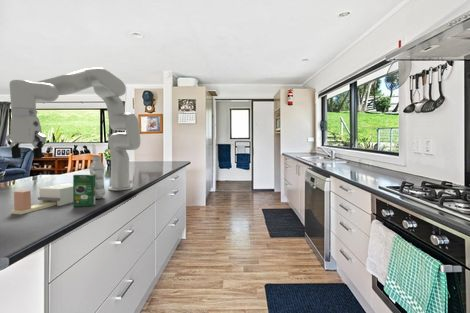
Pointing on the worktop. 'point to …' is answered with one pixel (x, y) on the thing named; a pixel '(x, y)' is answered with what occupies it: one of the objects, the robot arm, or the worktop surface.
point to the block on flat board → (27, 203)
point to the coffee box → (83, 190)
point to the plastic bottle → (98, 176)
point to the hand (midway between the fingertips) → (27, 158)
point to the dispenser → (57, 194)
